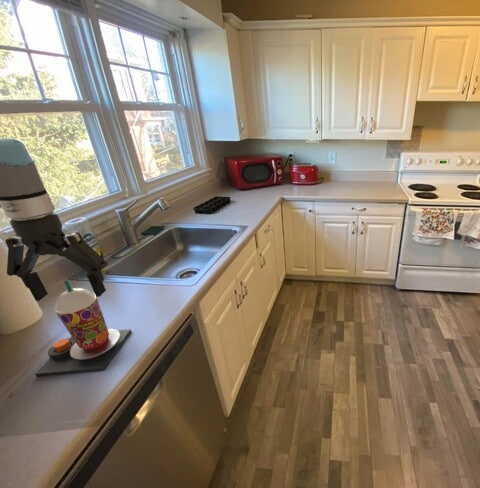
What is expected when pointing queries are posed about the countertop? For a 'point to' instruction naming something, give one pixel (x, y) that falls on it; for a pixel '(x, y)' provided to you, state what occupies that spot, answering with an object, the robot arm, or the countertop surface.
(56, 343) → the tare button
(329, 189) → the countertop surface
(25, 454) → the countertop surface
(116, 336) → the platter
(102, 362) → the scale
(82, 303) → the smoothie
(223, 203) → the egg carton
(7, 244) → the robot arm
